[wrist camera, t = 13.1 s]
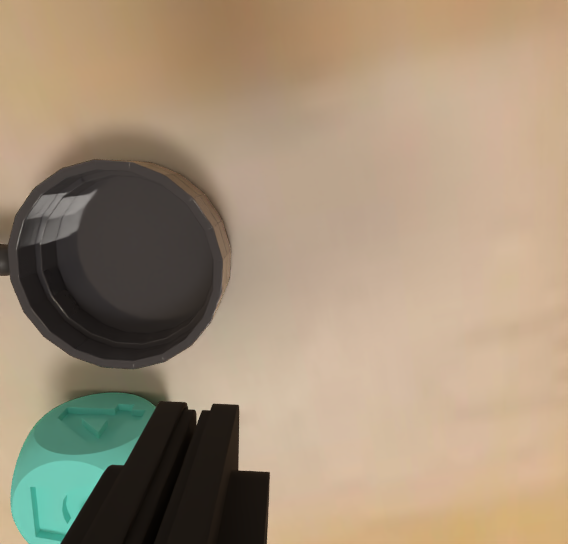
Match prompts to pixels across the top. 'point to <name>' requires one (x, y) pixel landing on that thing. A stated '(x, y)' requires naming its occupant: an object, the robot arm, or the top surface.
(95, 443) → the decorative dice
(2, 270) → the pan handle
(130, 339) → the pan
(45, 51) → the top surface
